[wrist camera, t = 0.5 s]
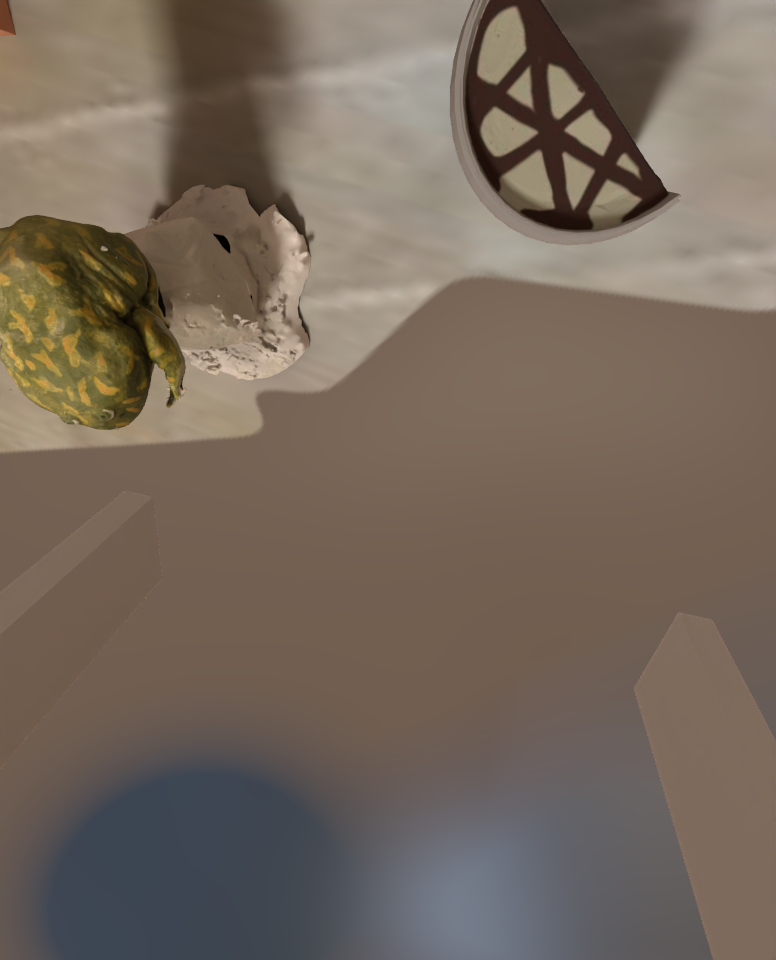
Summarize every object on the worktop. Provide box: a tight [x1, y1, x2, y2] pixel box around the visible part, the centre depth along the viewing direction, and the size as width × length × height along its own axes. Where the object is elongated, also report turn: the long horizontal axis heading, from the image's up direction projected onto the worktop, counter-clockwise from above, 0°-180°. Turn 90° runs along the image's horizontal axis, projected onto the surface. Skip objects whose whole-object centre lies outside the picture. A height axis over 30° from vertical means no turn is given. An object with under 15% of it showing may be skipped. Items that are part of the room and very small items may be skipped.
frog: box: [0, 185, 311, 430], centre depth 29 cm, size 12×13×18 cm
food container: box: [450, 0, 681, 245], centre depth 26 cm, size 12×6×10 cm, turn 43°
